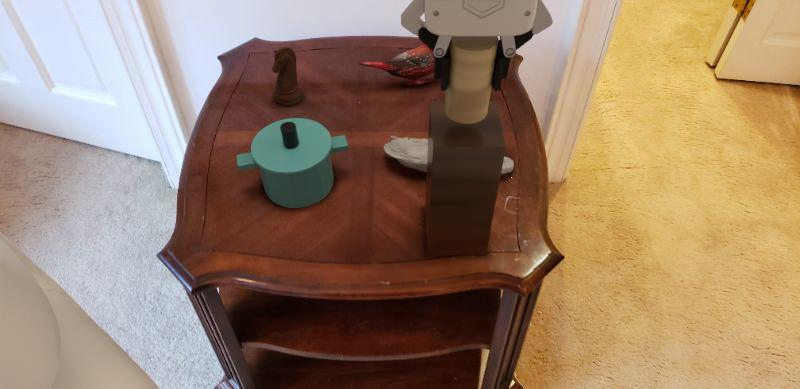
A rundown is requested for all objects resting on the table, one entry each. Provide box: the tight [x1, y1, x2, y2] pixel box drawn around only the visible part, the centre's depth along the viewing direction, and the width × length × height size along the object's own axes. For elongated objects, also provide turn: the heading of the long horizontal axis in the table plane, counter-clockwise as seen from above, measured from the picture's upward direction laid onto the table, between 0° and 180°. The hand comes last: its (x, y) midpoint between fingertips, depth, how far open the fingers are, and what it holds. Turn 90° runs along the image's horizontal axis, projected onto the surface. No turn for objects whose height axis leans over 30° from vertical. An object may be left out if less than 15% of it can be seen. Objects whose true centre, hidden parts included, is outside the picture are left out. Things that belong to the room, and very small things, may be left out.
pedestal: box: [424, 100, 507, 256], centre depth 70 cm, size 8×8×20 cm
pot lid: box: [250, 117, 332, 175], centre depth 78 cm, size 11×11×4 cm
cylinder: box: [444, 36, 499, 124], centre depth 58 cm, size 5×5×9 cm
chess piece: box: [271, 46, 303, 107], centre depth 95 cm, size 5×5×10 cm
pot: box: [236, 134, 349, 209], centre depth 82 cm, size 10×16×8 cm, turn 106°
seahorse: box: [383, 135, 515, 176], centre depth 85 cm, size 5×12×20 cm
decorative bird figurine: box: [356, 43, 434, 86], centre depth 97 cm, size 3×18×10 cm, turn 102°
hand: (469, 81), depth 58 cm, fingers closed on cylinder, 4 cm apart
